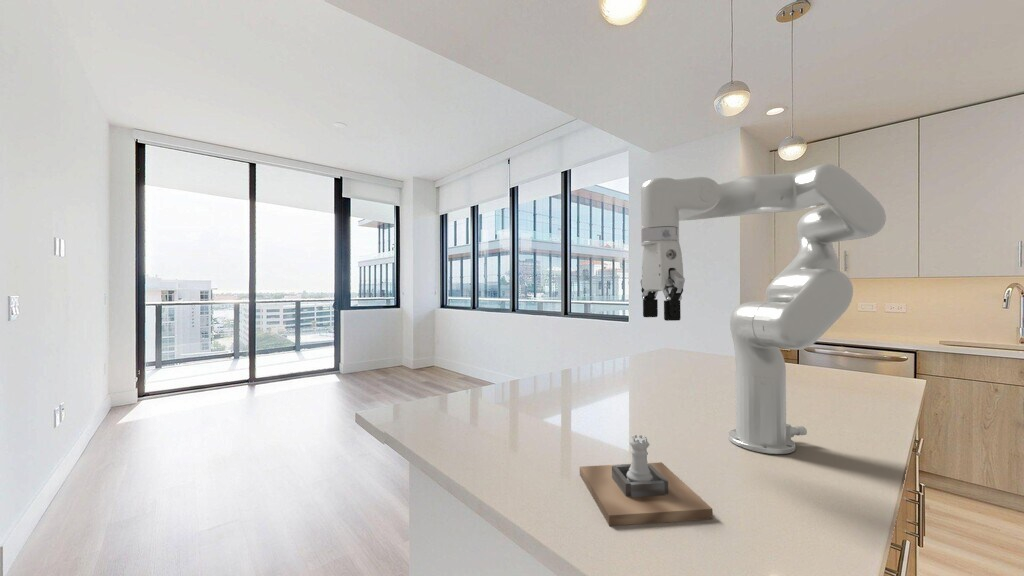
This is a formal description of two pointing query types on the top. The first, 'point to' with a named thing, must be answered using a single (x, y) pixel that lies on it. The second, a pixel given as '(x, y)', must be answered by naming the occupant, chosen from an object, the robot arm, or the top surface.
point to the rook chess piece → (639, 460)
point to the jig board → (643, 496)
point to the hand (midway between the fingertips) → (660, 318)
